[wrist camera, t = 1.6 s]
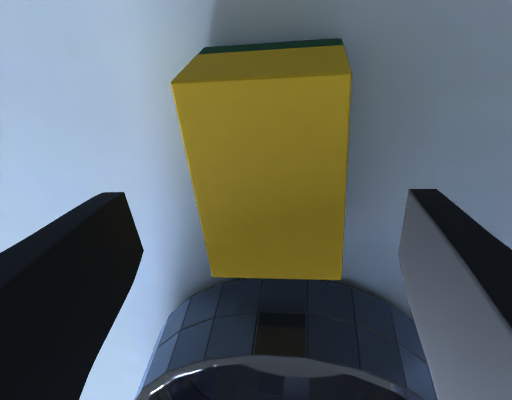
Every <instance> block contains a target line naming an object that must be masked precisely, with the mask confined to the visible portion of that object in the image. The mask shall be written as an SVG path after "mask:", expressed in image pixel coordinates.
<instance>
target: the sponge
mask: <svg viewBox="0 0 512 400" xmlns="http://www.w3.org/2000/svg"><path fill="white" fill-rule="evenodd" d="M351 83H352V72H351V69H350V65H349V62H348V58H347V55H346V51H345V48H344V45H343V42H342V39H340V38H337V39H322V40H307V41H292V42H277V43H262V44H248V45H233V46H218V47H205V48H203V49H202V50H201V51H200V53H199V54H198V55H196V56H195V57H194V58H193V59H192V60H191V62H190V63H189V64H188V65H187V66H186V67H185V68H184V69H183V70H182V71H181V72H180V73H179V74H178V75H177V76H176V77H175V78H174V79H173V80H172V81H171V87H172V91H173V96H174V101H175V105H176V110H177V115H178V119H179V124H180V129H181V133H182V138H183V143H184V147H185V152H186V157H187V161H188V166H189V171H190V175H191V180H192V185H193V189H194V194H195V199H196V203H197V208H198V213H199V217H200V222H201V227H202V231H203V236H204V241H205V245H206V250H207V255H208V259H209V264H210V269H211V273H212V277H229V278H270V279H311V280H341V279H342V264H343V244H344V224H345V204H346V183H347V163H348V143H349V123H350V103H351Z"/></svg>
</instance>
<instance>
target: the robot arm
mask: <svg viewBox="0 0 512 400" xmlns="http://www.w3.org/2000/svg"><path fill="white" fill-rule="evenodd" d="M143 251H144V250H143V247H142V244H141V241H140V238H139V235H138V232H137V229H136V226H135V223H134V220H133V217H132V214H131V211H130V209H129V206H128V203H127V200H126V197H125V194H124V192H105V193H101V194H99V195H97V196H95V197H93V198H91V199H89V200H87V201H86V202H84V203H82V204H81V205H79V206H77V207H76V208H74V209H72V210H71V211H69V212H67V213H66V214H64V215H63V216H61V217H59V218H58V219H56V220H55V221H53V222H51V223H50V224H48V225H47V226H45V227H43V228H42V229H40V230H38V231H37V232H35V233H34V234H32V235H30V236H29V237H27V238H25V239H24V240H22V241H20V242H19V243H17V244H15V245H13V246H12V247H10V248H8V249H6V250H5V251H3V252H1V253H0V400H79V398H80V395H81V393H82V390H83V388H84V385H85V382H86V380H87V377H88V375H89V372H90V370H91V368H92V366H93V363H94V361H95V359H96V357H97V355H98V353H99V351H100V349H101V347H102V345H103V343H104V341H105V339H106V337H107V335H108V333H109V331H110V329H111V327H112V325H113V323H114V321H115V319H116V317H117V315H118V313H119V311H120V309H121V307H122V305H123V303H124V301H125V299H126V297H127V295H128V293H129V291H130V289H131V286H132V284H133V282H134V279H135V276H136V273H137V270H138V267H139V264H140V261H141V258H142V254H143ZM399 260H400V266H401V272H402V278H403V283H404V288H405V292H406V296H407V299H408V302H409V306H410V309H411V312H412V315H413V319H414V322H415V325H416V328H417V331H418V334H419V337H420V341H421V344H422V347H423V350H424V353H425V356H426V360H427V363H428V366H429V369H430V372H431V375H432V379H433V383H434V386H435V390H436V394H437V397H438V400H512V250H511V249H510V248H509V247H507V246H506V245H505V244H503V243H502V242H501V241H499V240H498V239H497V238H496V237H494V236H493V235H492V234H491V233H489V232H488V231H487V230H486V229H484V228H483V227H482V226H481V225H479V224H478V223H477V222H476V221H474V220H473V219H472V218H471V217H470V216H468V215H467V214H466V213H465V212H464V211H462V210H461V209H460V208H459V207H458V206H457V205H455V204H454V203H453V202H452V201H451V200H449V199H448V198H447V197H446V196H445V195H443V194H442V193H441V192H439V191H438V190H437V189H409V191H408V197H407V204H406V210H405V216H404V223H403V229H402V235H401V241H400V248H399Z"/></svg>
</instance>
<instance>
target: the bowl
mask: <svg viewBox="0 0 512 400" xmlns="http://www.w3.org/2000/svg"><path fill="white" fill-rule="evenodd" d="M134 400H438V397H437V394H436V390H435V386H434V383H433V379H432V375H431V372H430V369H429V366H428V363H427V360H426V356H425V353H424V350H423V347H422V344H421V341H420V337H419V334H418V331H417V328H416V325H415V323H414V322H413V321H411V320H410V319H409V318H408V317H406V316H405V315H404V314H402V313H401V312H400V311H398V310H397V309H396V308H395V307H393V306H392V305H391V304H388V303H387V302H384V301H382V300H380V299H378V298H375V297H373V296H371V295H368V294H366V293H364V292H362V291H359V290H357V289H355V288H351V287H349V286H345V285H340V284H336V283H331V282H326V281H322V280H311V279H270V278H249V279H244V280H238V281H232V282H226V283H224V284H220V285H218V286H215V287H213V288H210V289H208V290H206V291H203V292H201V293H199V294H196V295H194V296H192V297H190V298H189V299H188V300H187V301H185V302H184V303H183V304H182V305H181V306H179V307H178V308H177V309H176V310H175V311H173V312H172V313H171V314H170V315H169V317H168V319H167V321H166V323H165V324H164V326H163V328H162V330H161V332H160V334H159V336H158V339H157V341H156V344H155V347H154V349H153V352H152V354H151V357H150V360H149V362H148V365H147V368H146V370H145V373H144V375H143V378H142V381H141V383H140V386H139V388H138V391H137V394H136V396H135V399H134Z"/></svg>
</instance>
